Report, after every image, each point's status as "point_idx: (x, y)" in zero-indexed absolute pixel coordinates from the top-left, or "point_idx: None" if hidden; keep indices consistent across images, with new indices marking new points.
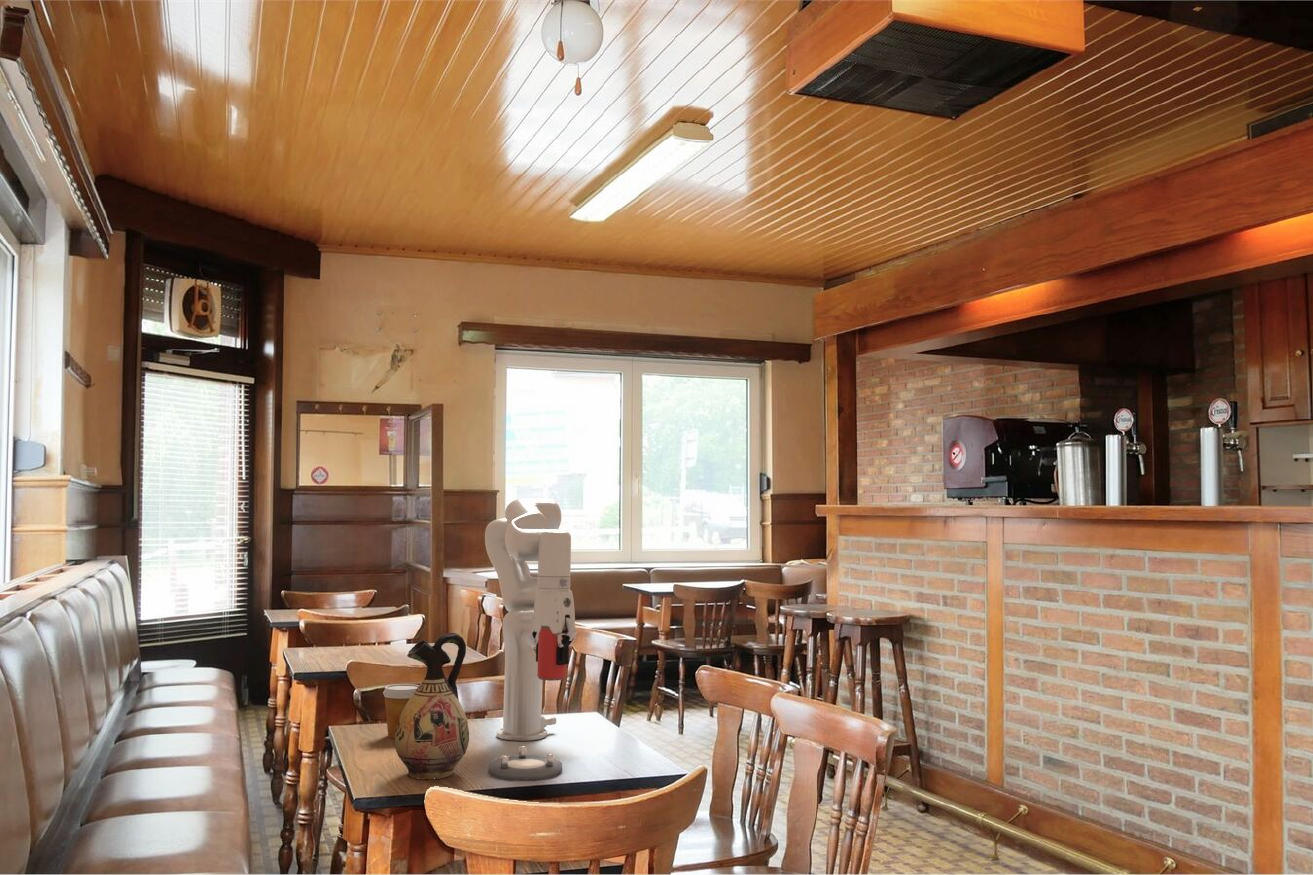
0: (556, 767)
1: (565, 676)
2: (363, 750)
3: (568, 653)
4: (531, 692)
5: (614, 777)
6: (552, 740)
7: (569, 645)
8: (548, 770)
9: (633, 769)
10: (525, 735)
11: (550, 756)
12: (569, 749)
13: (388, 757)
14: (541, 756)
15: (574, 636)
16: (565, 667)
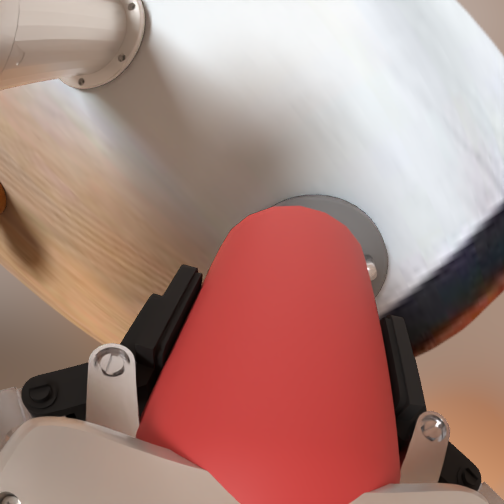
0: (382, 261)
1: (364, 257)
2: (41, 284)
3: (414, 364)
4: (55, 37)
5: (478, 216)
6: (172, 7)
7: (438, 427)
8: (379, 284)
9: (489, 144)
10: (120, 53)
11: (373, 277)
12: (270, 48)
13: (86, 298)
14: (303, 203)
15: (488, 490)
16: (372, 290)
